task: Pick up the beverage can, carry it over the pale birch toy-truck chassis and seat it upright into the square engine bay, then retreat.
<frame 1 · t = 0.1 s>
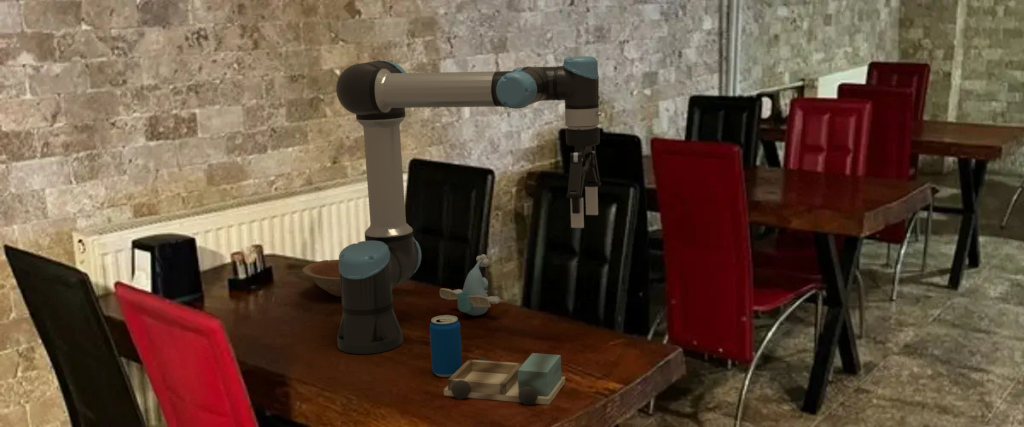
hand: (585, 221, 225), 28 cm above the table, fingers open, 13 cm apart
bowl: (348, 294, 277), on the table
chassis: (505, 388, 203), on the table
toy figure: (476, 315, 252), on the table
beverage can: (447, 373, 213), on the table
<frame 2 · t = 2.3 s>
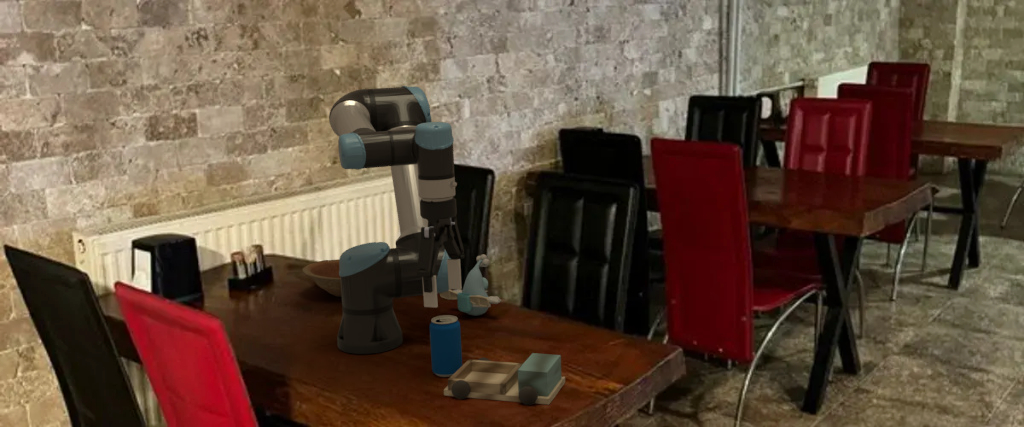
hand: (443, 297, 209), 17 cm above the table, fingers open, 13 cm apart
nothing on the table moved.
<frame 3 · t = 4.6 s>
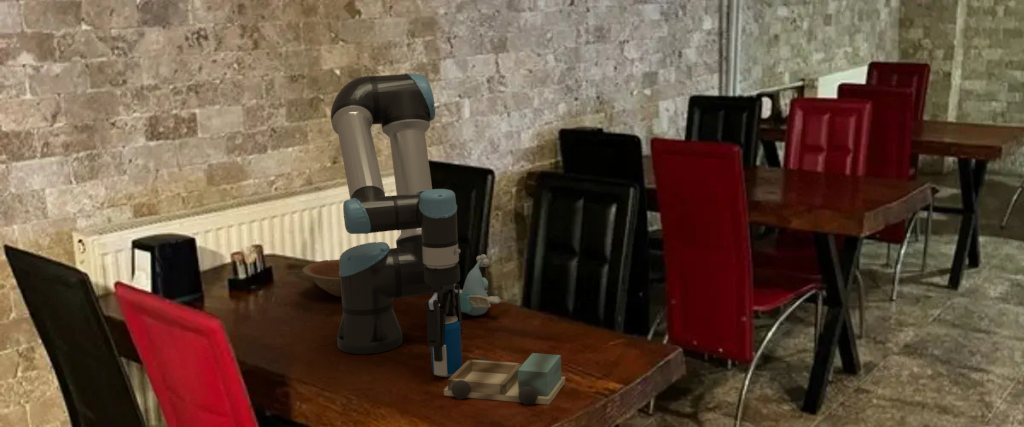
hand: (447, 368, 213), 1 cm above the table, fingers closed on beverage can, 6 cm apart
beverage can: (447, 373, 213), on the table, touching gripper
everything else where it was.
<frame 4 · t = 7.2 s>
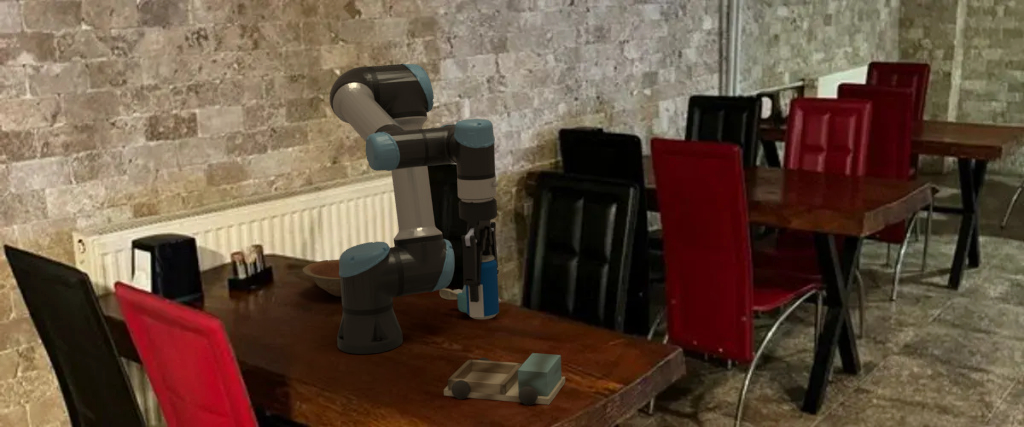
hand: (483, 311, 200), 16 cm above the table, fingers closed on beverage can, 6 cm apart
beverage can: (483, 316, 201), point 15 cm above the table, touching gripper
everything else where it was.
when the fingers open (4 cm above the table, at t = 10.0 s): beverage can drops 2 cm, resting on chassis.
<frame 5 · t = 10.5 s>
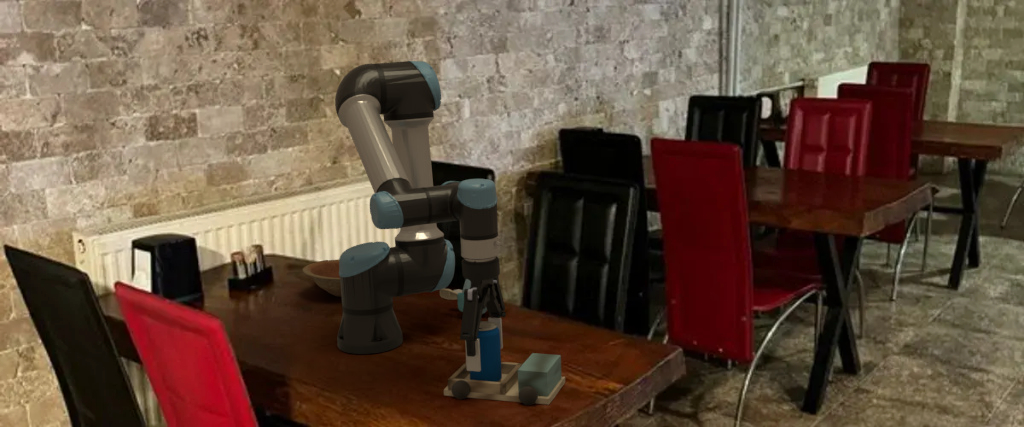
hand: (485, 359, 203), 6 cm above the table, fingers open, 13 cm apart
beverage can: (486, 382, 204), point 1 cm above the table, touching chassis
everything else where it was.
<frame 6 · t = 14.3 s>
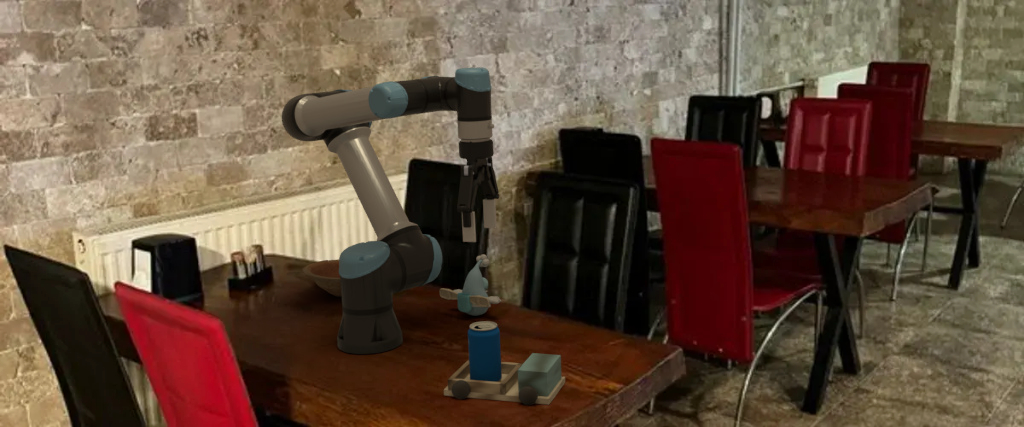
hand: (480, 234, 221), 27 cm above the table, fingers open, 13 cm apart
nothing on the table moved.
at the end: beverage can 0.1 cm from the target spot on the chassis, point 1.0 cm above the chassis's base; beverage can tilted 0°; the gripper is holding nothing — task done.
